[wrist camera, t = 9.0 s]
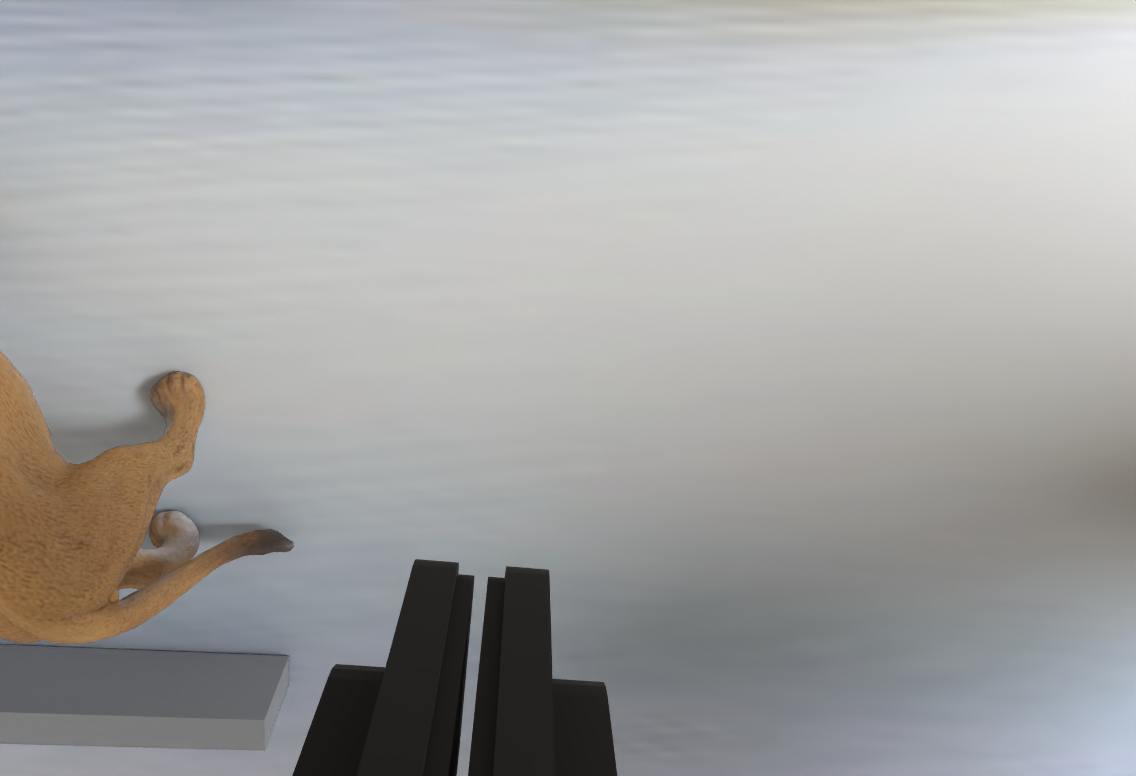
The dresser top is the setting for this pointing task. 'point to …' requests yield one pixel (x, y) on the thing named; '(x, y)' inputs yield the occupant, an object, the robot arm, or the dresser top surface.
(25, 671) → the box
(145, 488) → the lion figurine
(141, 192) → the dresser top surface
